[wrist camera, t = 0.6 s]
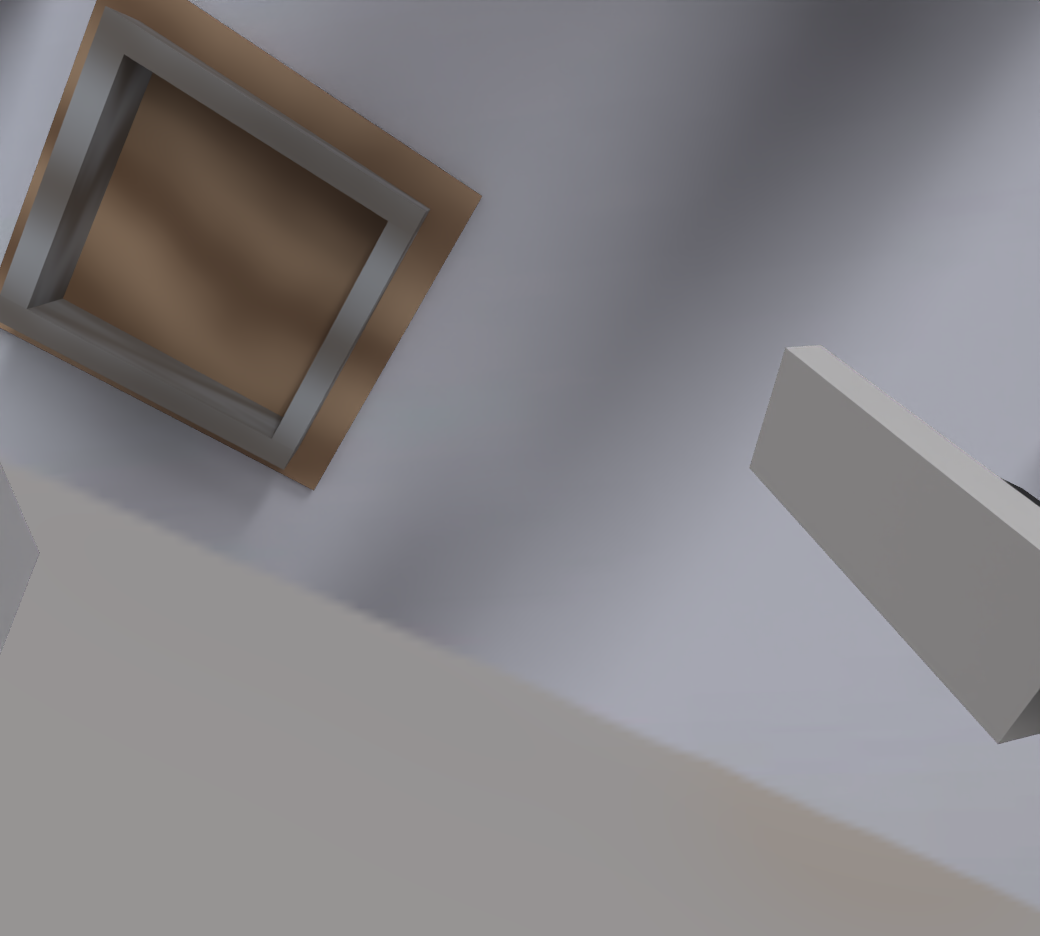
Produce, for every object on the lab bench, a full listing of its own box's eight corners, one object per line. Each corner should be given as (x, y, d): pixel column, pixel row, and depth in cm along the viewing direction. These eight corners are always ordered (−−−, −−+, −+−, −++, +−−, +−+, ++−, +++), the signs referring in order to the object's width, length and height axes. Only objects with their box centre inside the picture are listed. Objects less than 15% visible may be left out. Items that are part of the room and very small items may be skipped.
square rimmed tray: (123, -43, 31) (76, -71, 27) (481, 196, 35) (481, 198, 32) (-8, 315, 36) (-61, 330, 33) (316, 484, 40) (300, 514, 37)
